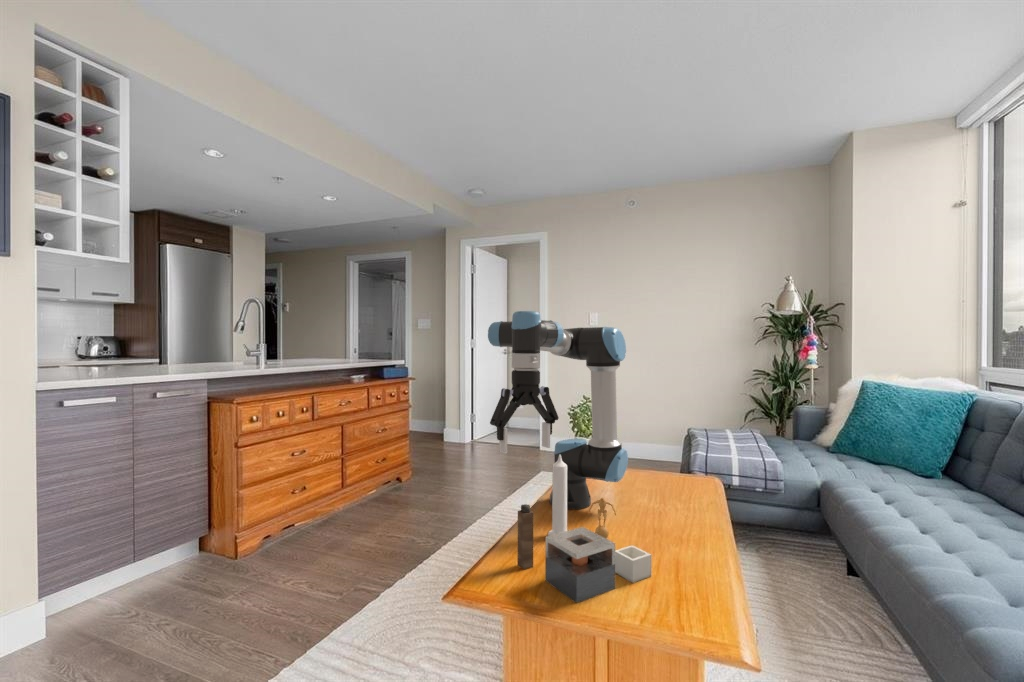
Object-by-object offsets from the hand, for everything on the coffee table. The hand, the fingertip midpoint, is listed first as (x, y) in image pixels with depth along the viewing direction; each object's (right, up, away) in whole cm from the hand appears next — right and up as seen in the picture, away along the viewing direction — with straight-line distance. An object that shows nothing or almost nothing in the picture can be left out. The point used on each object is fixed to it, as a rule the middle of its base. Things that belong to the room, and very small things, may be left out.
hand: (525, 449), depth 126 cm
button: (+13, -28, -9) cm, 32 cm away
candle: (+11, -31, +20) cm, 39 cm away
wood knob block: (0, -31, 0) cm, 31 cm away
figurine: (+24, -31, +19) cm, 43 cm away
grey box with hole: (+13, -31, -9) cm, 35 cm away
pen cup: (+27, -31, -4) cm, 42 cm away
